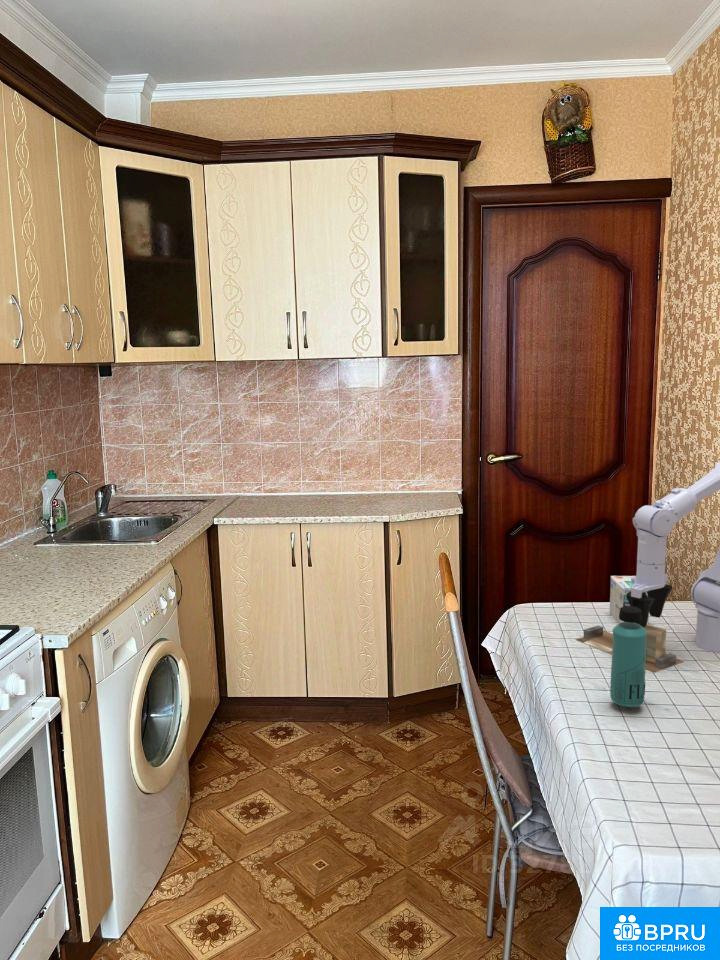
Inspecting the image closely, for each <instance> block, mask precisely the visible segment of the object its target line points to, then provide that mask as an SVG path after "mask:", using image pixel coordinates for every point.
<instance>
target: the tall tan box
mask: <svg viewBox="0 0 720 960" xmlns="http://www.w3.org/2000/svg"><path fill="white" fill-rule="evenodd" d="M643 628H644V629H645V630H646V632H647V638H646V650H647V654H646V660H647V661H650V662H653V663H655V658H657V657H660V656H663V655H665V654H666V644H667V643H666V641H667V629H666V628H662V627H657V626H653V625H649V624H648V625H646V627H643Z"/></svg>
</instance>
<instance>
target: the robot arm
mask: <svg viewBox="0 0 720 960" xmlns="http://www.w3.org/2000/svg"><path fill="white" fill-rule="evenodd" d="M713 467H714V468H713V469H712V470H710V471H709V472H708V473H707V474H705V475H703V476H702V477H701V478H700V479H699V480H697V481H696V482H694V483H693V484H692V485H690V486H689V487H688V488H687V489H686V488H683V487H679V488H677V487H674V488H672V490H671V491H670V493H668V494H667V495H666V496H664V497H662V498H661V499H657V500H655V502H654V503H653V504H652V505H649V504H647V505H646V504H645V505H643V506H641V507H640V508H638V510H637V511H636V512H635V514H634V517H632V525H633V526H634V528H635V530H636V536H637V554H636V573H635V574H636V575H635V576H636V577H632V578H631V581H632V582H635V583H634V586H633V587H632V588H631V592H628V593H627V594H626V598H627V600H628V601H629V603H630V606H632V607H637V608H639V609H641V615H642V621H641V622H638V623H637V624H639V625H641V626H642V627H646V625H647V621H648V616H650V617H654V618H658V619H660V618H661V616H662V613H663V609H664V606H665V603H666V600H667V598H668V596H669V595H670V593H671V592H672V590H673V586H672V585H671V584H667V583H668V580H669V578H668V577H669V574H668V573H666V571H665V570H666V556H667V555H666V554H667V538H668V537H667V536H668V535H669V534H670V533H671V532H672V531H673V529H674V526H675V525H676V524H677V523H678V522H679V521H680V520H681V519H683V518H685V517H686V516H688V515H689V514H691V513H692V512H693V511H695V510H696V509H697V505H698V502H700V501H702V500H703V499H705V498H707V497H709V496H710V495H712V494H714V493H716V492H718V491H720V461H718V462H716V463H715V465H714V466H713ZM718 547H719V548H718V549H717V553H716V555H715V558H714V561H713V563H712V566H711V567H709V568H707V569H705V570H702V571H701V572H700V574H699V577H698V579H697V580H696V581H695V582H694V583H693V585H692V586H691V589H690V597H691V601H693V603H694V604H695V609H697V611H696V612H697V613H696V615H697V616H696V630H695V646H696V647H697V648H699V649H700V650H703V651H706V652H712V653H720V546H718ZM646 592H647V595H648V597H647V595H646ZM648 622H649V621H648Z"/></svg>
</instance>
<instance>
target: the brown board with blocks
mask: <svg viewBox="0 0 720 960" xmlns="http://www.w3.org/2000/svg"><path fill="white" fill-rule="evenodd" d="M575 640H576V641H577V642H580V643H582V644H585V645H587V646H589V647H592V648H594V649H596V650H599V651H602V652H604V653H606V654H608V655H611V656H612V645H613V632H612V633H611V632H609V631H606V630H604V627H603V626H601V625H595V626H591V627H589V628H584V629H583V637H579V638H576V639H575ZM646 662H647V663H646V666H645V670H646V671H650V672H651V673H654V674H655V673H657V672H661V671H663V670H665V669H669V668H671V667H675V666H677V665H680V664H682V663H685V661H684V660H681V659H678V658H677V654H674V653H672V652H670V653H665V655H663V656H660V657H657V658H655V663H653V662H650V661H646Z"/></svg>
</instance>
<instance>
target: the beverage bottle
mask: <svg viewBox="0 0 720 960" xmlns="http://www.w3.org/2000/svg"><path fill="white" fill-rule="evenodd" d="M619 619H620V620H622V621H624V622H622V623H620V624H619V623H618V624H616V625H615V626H614V627H613V628H612V634H613V645H612V655H611V664H610V665H611V666H610V667H611V668H610V675H609V676H610V677H609V678H610V679H609V680H610V681H609V682H610V690H609V695H610V699H611V702H613V703H615V704H617V705H619V706H621V707H626V708H627V707H628V708H635V707H640V706H642V705H643V704H644V701H645V695H646V673H647V672H646V669H645V666H646V663H647V662H646V661H647V660H646V654H647V650H646V638H647V632H646V630H645V629H644V628H643V627H642V626H641V625H639V624H637V623H638V622H641V621H642V615H641V609H639V608H637V607H632V606H625V607H621V608H620V613H619Z"/></svg>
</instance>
